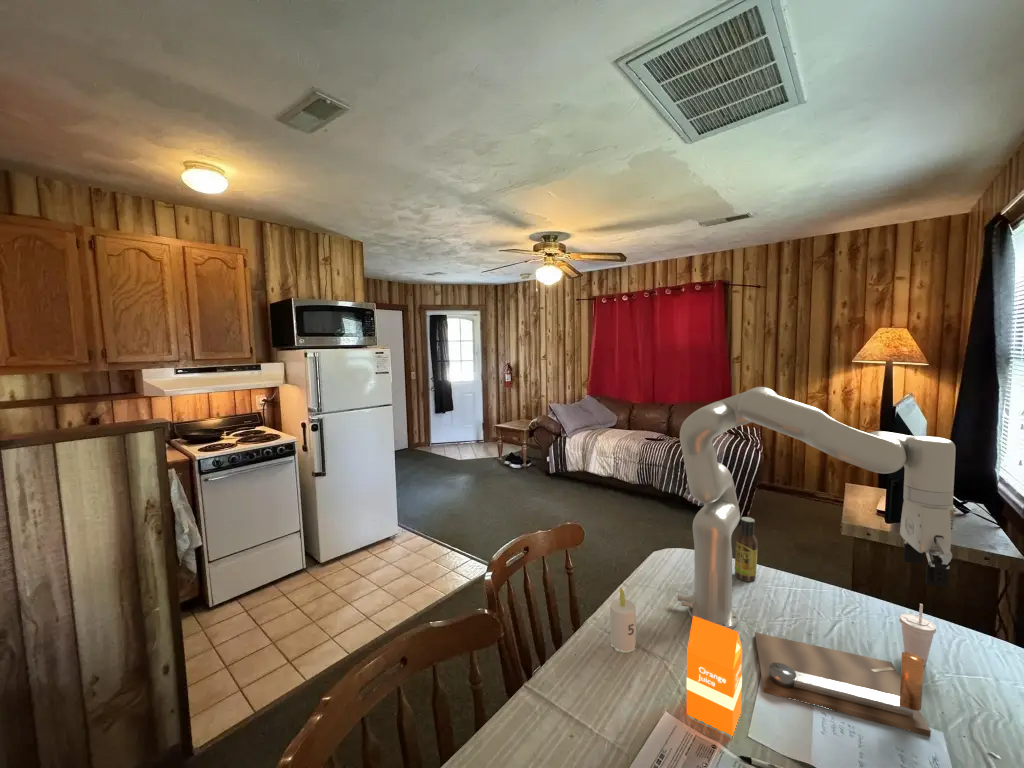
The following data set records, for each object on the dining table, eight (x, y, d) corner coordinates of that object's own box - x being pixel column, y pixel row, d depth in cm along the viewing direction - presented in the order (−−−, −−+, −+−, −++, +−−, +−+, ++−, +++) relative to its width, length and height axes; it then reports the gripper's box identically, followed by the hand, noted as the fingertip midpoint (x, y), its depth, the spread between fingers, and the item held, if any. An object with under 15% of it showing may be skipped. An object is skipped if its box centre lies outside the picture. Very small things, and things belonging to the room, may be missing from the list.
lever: (770, 683, 95) (772, 634, 94) (768, 668, 99) (769, 620, 98) (925, 724, 84) (929, 668, 83) (914, 704, 88) (917, 651, 87)
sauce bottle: (730, 574, 142) (731, 516, 141) (744, 570, 144) (745, 513, 143) (746, 584, 136) (747, 523, 135) (761, 580, 138) (762, 520, 137)
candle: (621, 656, 106) (621, 599, 105) (605, 640, 112) (604, 586, 111) (641, 649, 109) (641, 592, 108) (624, 633, 115) (624, 580, 114)
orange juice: (697, 692, 95) (698, 606, 93) (741, 713, 89) (743, 622, 88) (685, 716, 89) (686, 625, 87) (732, 740, 83) (734, 643, 82)
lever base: (763, 691, 95) (763, 686, 94) (754, 636, 112) (754, 631, 112) (930, 736, 83) (930, 730, 83) (891, 667, 101) (891, 661, 100)
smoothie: (941, 671, 99) (945, 613, 98) (909, 668, 100) (912, 611, 99) (921, 652, 105) (924, 597, 104) (891, 649, 106) (893, 595, 105)
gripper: (887, 481, 100) (885, 552, 101) (925, 508, 84) (921, 591, 85) (929, 484, 97) (926, 557, 98) (976, 512, 81) (971, 598, 83)
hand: (924, 573), depth 92 cm, fingers open, 9 cm apart
